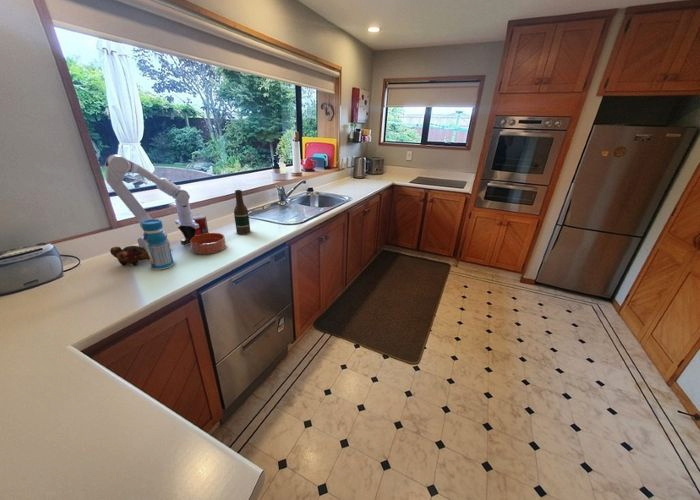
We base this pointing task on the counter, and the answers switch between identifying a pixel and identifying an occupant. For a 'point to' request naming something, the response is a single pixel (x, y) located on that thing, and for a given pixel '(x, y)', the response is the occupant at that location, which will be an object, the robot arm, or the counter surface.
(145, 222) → the beverage bottle
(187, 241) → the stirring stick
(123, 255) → the decorative turtle
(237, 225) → the beer bottle
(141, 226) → the robot arm
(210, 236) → the bowl
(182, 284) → the counter surface
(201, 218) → the canned food
